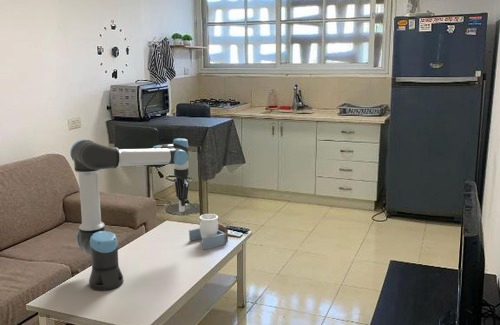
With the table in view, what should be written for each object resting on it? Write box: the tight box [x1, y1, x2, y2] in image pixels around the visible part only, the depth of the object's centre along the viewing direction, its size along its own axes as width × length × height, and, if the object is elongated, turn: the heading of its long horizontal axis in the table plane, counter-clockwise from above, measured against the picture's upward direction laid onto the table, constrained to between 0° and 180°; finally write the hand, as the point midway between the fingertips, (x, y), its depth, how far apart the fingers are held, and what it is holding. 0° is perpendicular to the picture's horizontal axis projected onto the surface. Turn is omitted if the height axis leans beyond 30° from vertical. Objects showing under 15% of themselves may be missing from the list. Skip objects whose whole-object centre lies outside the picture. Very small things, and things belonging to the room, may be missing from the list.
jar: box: [199, 213, 219, 244], centre depth 272 cm, size 11×10×15 cm
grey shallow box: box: [188, 227, 227, 250], centre depth 272 cm, size 14×16×6 cm
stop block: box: [217, 220, 229, 243], centre depth 277 cm, size 2×11×9 cm, turn 35°
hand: (181, 211), depth 259 cm, fingers closed
